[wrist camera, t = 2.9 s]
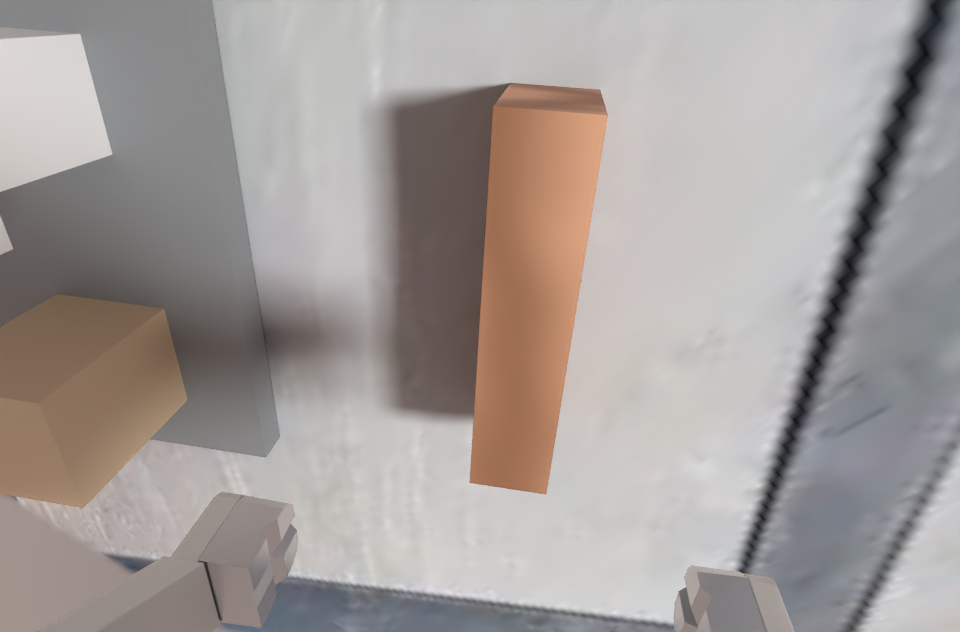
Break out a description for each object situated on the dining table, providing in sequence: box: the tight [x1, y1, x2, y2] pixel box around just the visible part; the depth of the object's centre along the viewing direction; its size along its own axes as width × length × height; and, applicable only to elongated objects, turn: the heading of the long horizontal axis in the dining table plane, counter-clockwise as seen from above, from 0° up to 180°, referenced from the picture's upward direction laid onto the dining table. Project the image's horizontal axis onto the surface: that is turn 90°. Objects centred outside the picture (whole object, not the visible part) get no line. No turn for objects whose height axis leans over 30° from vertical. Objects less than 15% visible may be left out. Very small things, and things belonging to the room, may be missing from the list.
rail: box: [470, 83, 608, 494], centre depth 20 cm, size 3×14×5 cm, turn 177°
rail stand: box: [0, 0, 280, 508], centre depth 19 cm, size 12×22×11 cm, turn 176°
